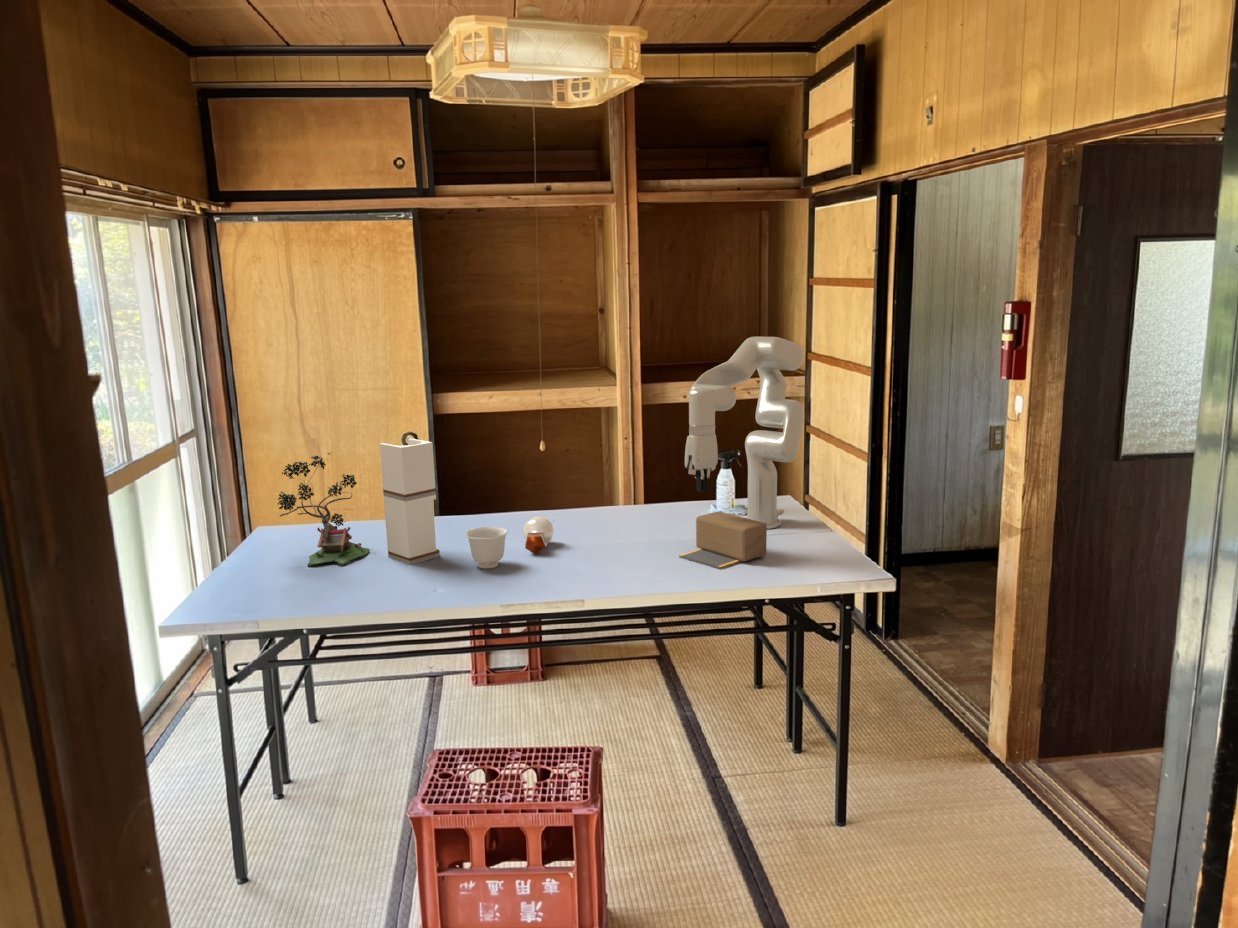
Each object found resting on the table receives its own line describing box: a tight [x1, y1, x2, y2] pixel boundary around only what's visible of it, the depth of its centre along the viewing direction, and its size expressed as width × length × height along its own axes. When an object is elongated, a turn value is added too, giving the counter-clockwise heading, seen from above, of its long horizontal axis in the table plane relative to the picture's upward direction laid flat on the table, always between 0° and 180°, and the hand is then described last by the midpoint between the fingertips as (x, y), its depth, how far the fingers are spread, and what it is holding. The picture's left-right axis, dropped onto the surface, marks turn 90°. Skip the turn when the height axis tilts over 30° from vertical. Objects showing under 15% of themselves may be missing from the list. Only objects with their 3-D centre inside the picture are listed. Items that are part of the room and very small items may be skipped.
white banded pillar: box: [379, 437, 441, 566], centre depth 258 cm, size 11×11×35 cm
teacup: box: [465, 526, 508, 569], centre depth 252 cm, size 12×15×10 cm
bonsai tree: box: [277, 455, 371, 568], centre depth 255 cm, size 35×24×32 cm
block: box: [695, 511, 768, 562], centre depth 256 cm, size 10×10×20 cm
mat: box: [678, 548, 744, 570], centre depth 255 cm, size 18×16×1 cm
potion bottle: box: [522, 515, 555, 555], centre depth 267 cm, size 9×10×15 cm
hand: (702, 491), depth 257 cm, fingers closed
